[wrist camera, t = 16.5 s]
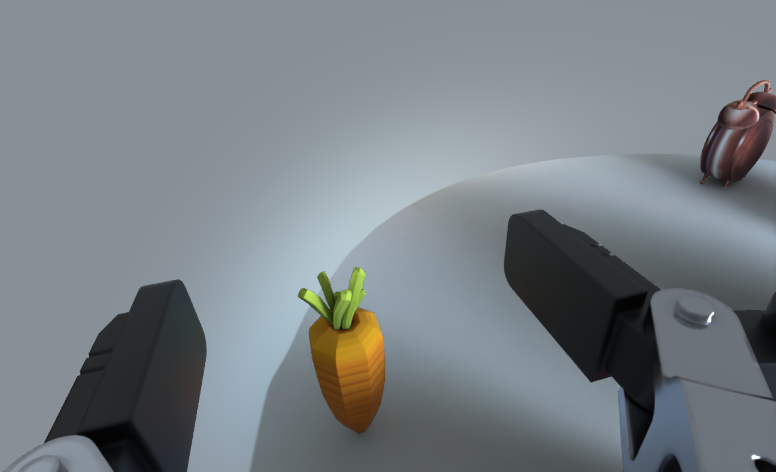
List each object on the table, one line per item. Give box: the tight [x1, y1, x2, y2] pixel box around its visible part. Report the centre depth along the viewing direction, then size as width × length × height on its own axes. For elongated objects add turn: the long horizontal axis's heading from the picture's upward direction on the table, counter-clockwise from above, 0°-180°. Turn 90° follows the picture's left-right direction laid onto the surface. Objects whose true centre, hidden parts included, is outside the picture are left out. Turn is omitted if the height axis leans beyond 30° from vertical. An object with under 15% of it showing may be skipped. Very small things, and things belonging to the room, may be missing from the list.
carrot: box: [298, 267, 385, 433], centre depth 28 cm, size 5×5×15 cm
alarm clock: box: [700, 80, 776, 188], centre depth 60 cm, size 11×5×15 cm, turn 122°
